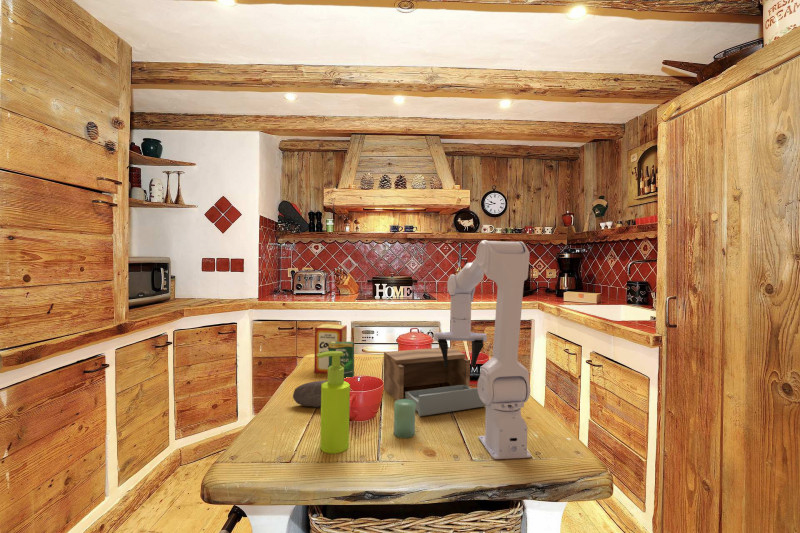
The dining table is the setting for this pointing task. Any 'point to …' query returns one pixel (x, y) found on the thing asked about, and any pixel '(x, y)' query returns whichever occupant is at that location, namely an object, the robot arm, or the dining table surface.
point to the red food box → (327, 343)
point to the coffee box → (348, 357)
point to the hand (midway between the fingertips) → (459, 366)
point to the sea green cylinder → (404, 418)
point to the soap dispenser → (334, 407)
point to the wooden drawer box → (423, 369)
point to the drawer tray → (444, 399)
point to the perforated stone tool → (309, 394)
